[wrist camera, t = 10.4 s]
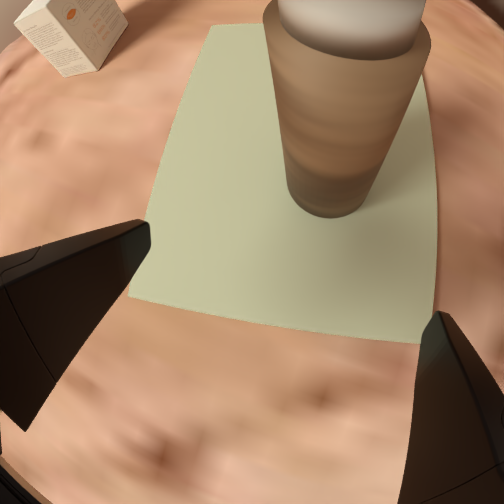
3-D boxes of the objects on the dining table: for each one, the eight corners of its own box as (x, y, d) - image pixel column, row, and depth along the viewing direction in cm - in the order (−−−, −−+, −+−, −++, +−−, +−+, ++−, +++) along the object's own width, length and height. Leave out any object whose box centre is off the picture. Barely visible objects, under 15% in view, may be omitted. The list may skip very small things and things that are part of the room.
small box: (95, 32, 27) (55, -23, 17) (130, 23, 26) (92, -41, 16) (63, 79, 26) (10, 23, 15) (98, 72, 25) (44, 5, 14)
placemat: (424, 343, 16) (427, 344, 15) (132, 297, 19) (127, 296, 18) (412, 46, 20) (414, 41, 19) (213, 29, 23) (211, 25, 23)
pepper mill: (381, 206, 17) (492, 3, 3) (300, 228, 17) (288, -3, 4) (351, 135, 18) (384, -74, 5) (276, 154, 19) (229, -67, 5)
